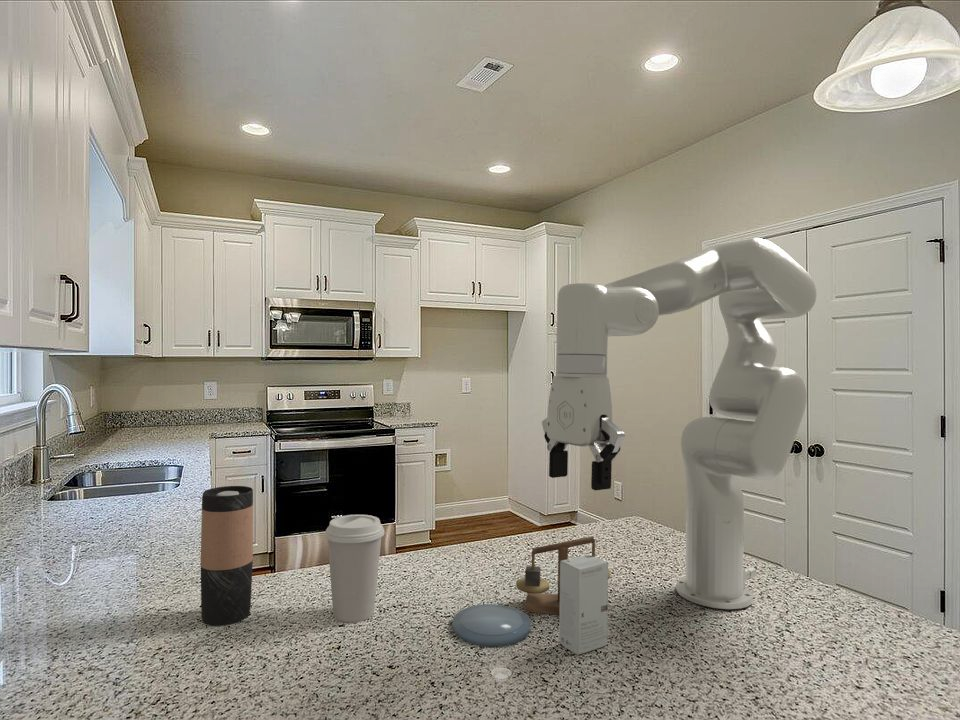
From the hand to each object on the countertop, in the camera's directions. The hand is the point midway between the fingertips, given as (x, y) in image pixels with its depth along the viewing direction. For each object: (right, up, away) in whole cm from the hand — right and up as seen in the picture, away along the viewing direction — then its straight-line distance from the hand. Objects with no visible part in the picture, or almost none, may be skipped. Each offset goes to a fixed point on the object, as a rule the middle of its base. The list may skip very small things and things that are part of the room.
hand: (578, 482), depth 85 cm
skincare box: (0, -24, -1) cm, 24 cm away
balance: (-1, -23, +11) cm, 26 cm away
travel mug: (-55, -23, +7) cm, 60 cm away
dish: (-13, -23, +4) cm, 27 cm away
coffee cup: (-35, -23, +8) cm, 43 cm away
